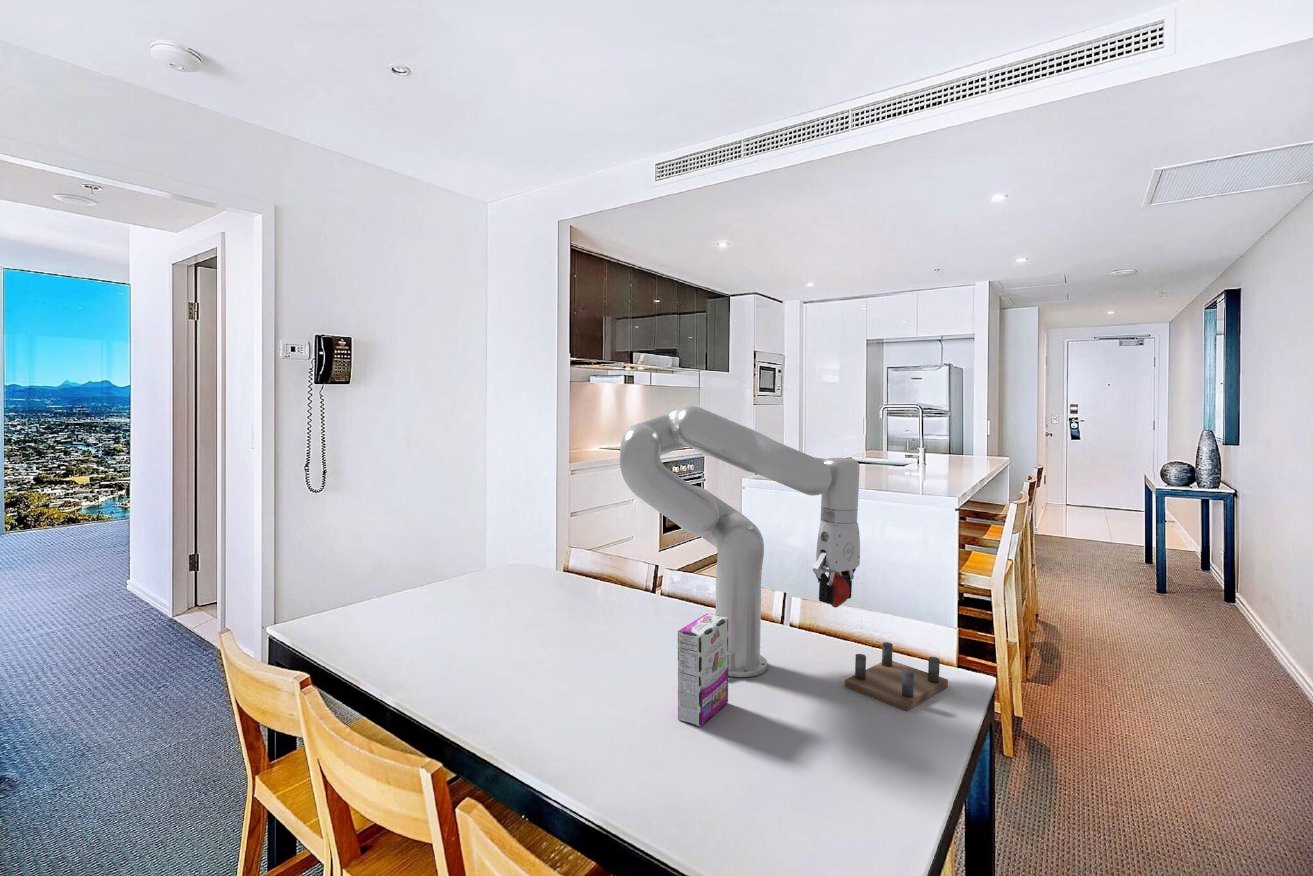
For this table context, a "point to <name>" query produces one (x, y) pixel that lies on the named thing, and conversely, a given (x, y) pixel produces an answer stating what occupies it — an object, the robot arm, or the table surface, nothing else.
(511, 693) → the table surface
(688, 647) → the candy bar box
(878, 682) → the peg holder
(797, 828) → the table surface
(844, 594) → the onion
